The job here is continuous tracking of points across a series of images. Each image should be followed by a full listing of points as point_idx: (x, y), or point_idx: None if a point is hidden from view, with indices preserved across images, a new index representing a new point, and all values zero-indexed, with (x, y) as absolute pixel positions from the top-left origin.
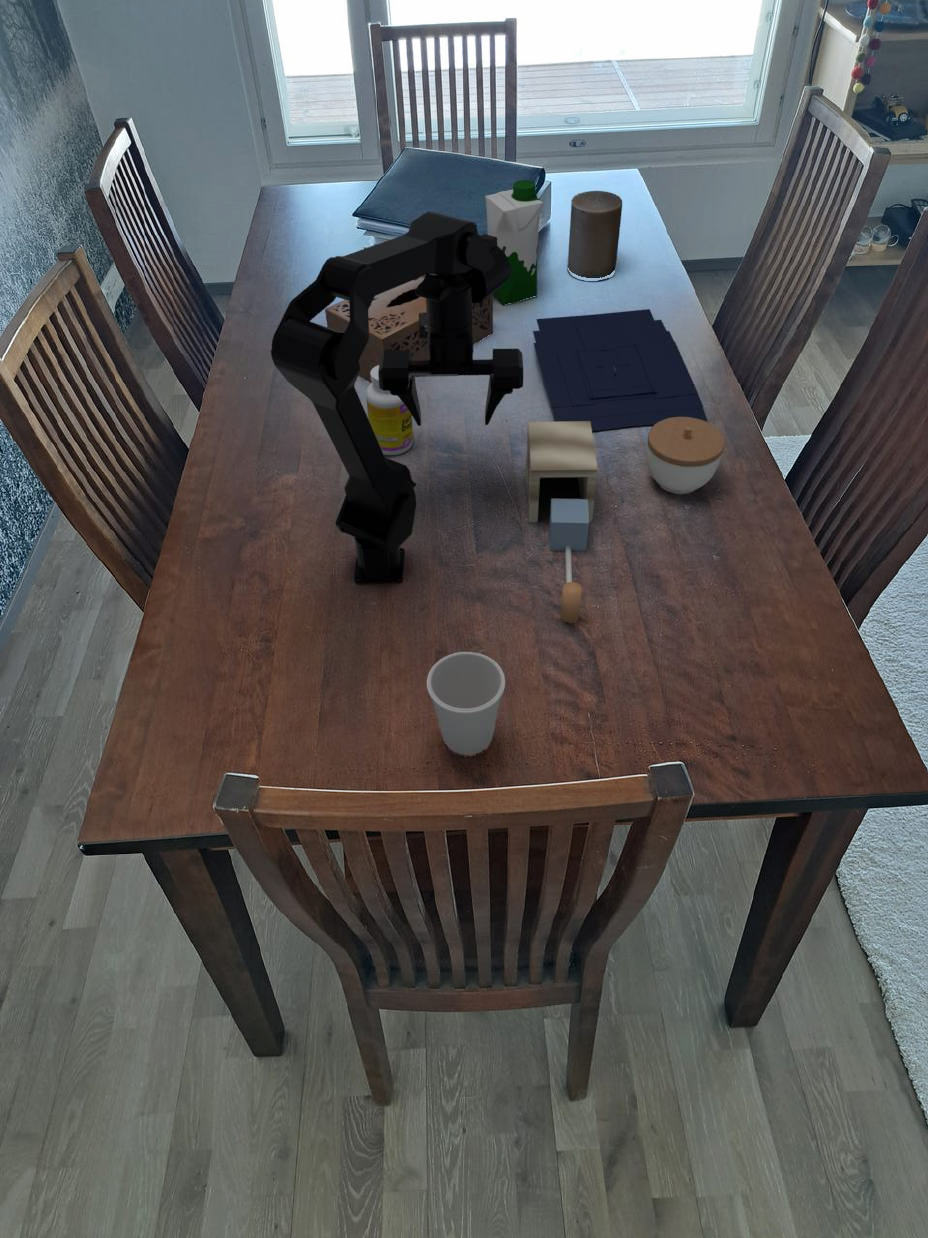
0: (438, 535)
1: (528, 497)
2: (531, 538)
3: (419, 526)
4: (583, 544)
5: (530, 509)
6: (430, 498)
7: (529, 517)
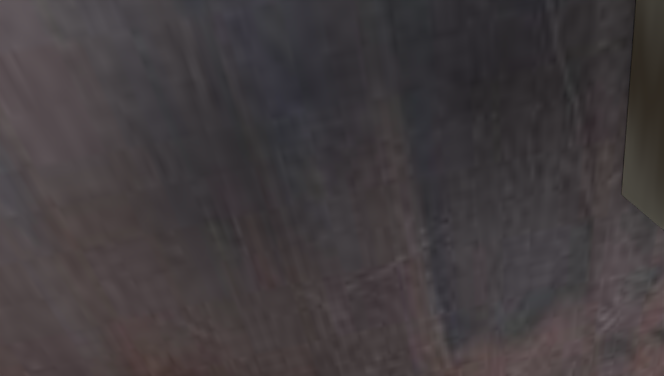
0: (315, 315)
1: (656, 134)
2: (620, 260)
3: (237, 293)
4: None
5: (661, 225)
6: (231, 143)
7: (635, 205)
